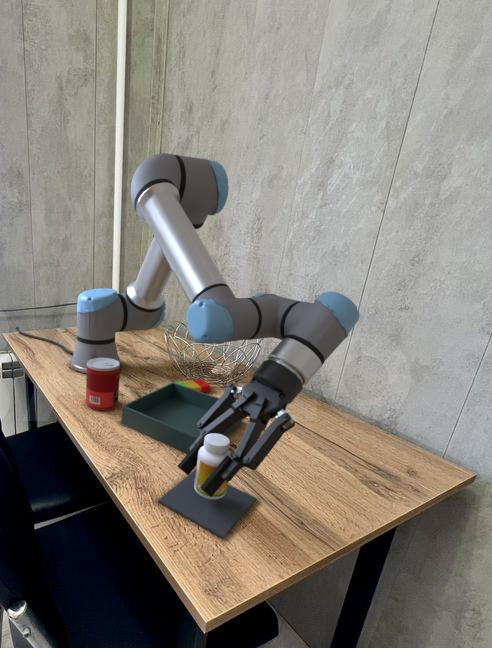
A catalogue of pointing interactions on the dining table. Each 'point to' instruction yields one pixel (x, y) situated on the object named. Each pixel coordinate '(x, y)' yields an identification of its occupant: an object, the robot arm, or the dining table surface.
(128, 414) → the dark green tray
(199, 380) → the popsicle
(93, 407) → the canned food
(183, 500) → the mat
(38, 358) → the dining table surface
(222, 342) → the robot arm
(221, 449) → the supplement bottle
